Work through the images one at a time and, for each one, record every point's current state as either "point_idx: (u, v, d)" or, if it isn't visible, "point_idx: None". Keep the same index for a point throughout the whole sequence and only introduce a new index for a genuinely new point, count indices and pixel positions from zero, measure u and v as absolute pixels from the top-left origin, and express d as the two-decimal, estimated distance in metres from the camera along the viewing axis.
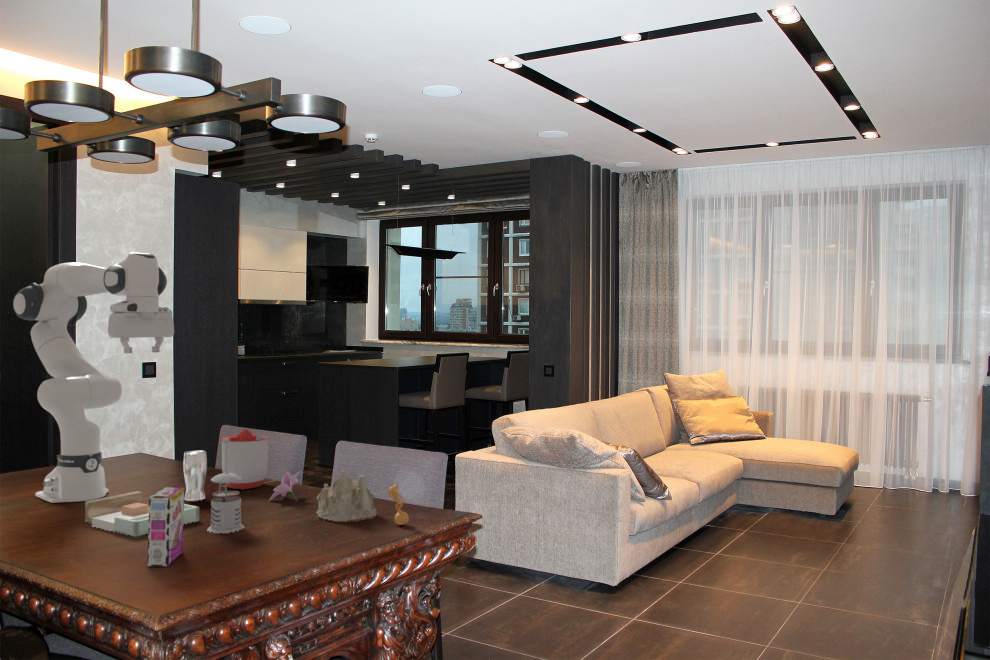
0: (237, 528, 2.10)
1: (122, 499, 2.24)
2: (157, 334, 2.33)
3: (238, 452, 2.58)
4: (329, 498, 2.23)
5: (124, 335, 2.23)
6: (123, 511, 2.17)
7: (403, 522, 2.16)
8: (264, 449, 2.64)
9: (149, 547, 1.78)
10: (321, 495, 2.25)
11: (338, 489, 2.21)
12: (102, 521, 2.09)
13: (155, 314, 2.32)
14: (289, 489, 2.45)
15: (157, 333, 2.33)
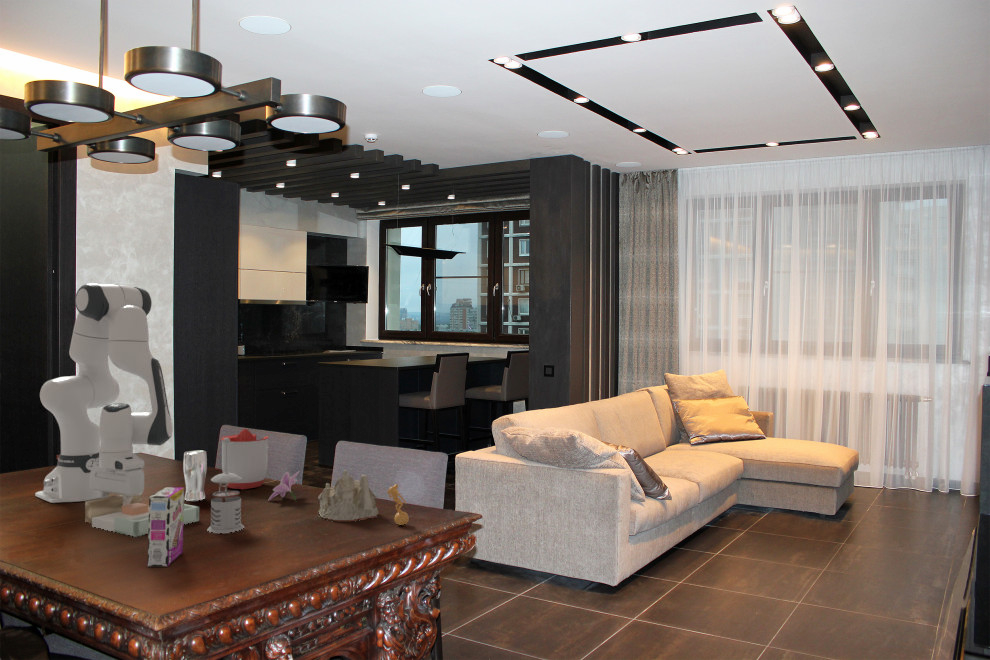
0: (237, 528, 2.10)
1: (122, 499, 2.24)
2: None
3: (238, 452, 2.58)
4: (331, 498, 2.24)
5: None
6: (123, 511, 2.17)
7: (403, 522, 2.16)
8: (264, 449, 2.64)
9: (149, 547, 1.78)
10: (323, 495, 2.26)
11: (340, 489, 2.21)
12: (102, 521, 2.09)
13: None
14: (288, 489, 2.45)
15: None
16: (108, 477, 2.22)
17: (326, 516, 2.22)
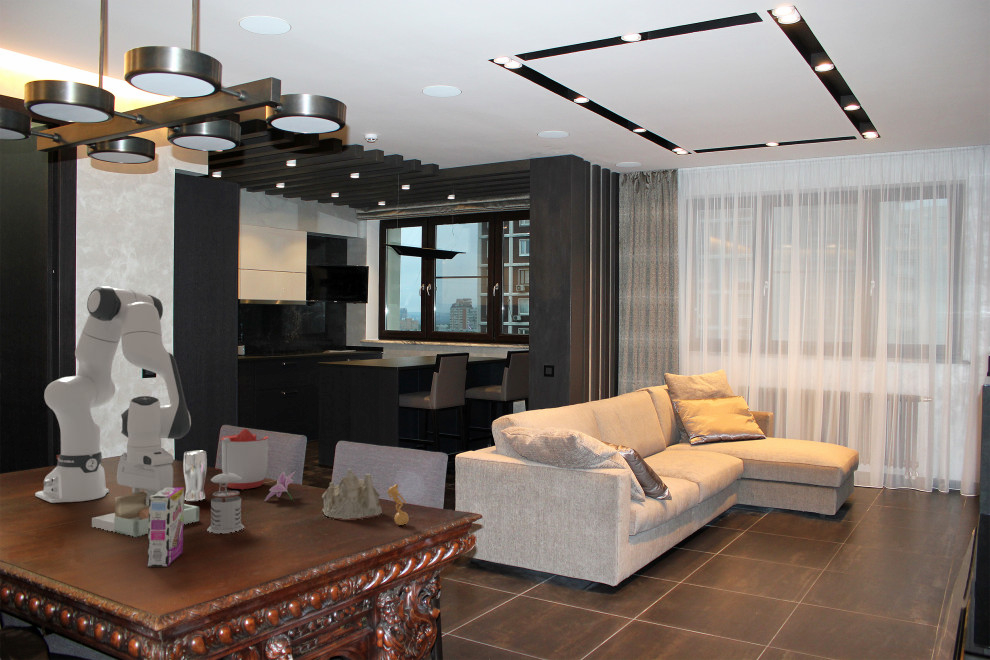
0: (237, 528, 2.10)
1: None
2: None
3: (238, 452, 2.58)
4: (335, 496, 2.25)
5: None
6: (140, 516, 2.13)
7: (403, 522, 2.16)
8: (264, 449, 2.64)
9: (149, 547, 1.78)
10: (327, 493, 2.28)
11: (345, 487, 2.23)
12: (102, 521, 2.09)
13: None
14: (285, 489, 2.45)
15: None
16: (136, 472, 2.15)
17: (331, 515, 2.24)
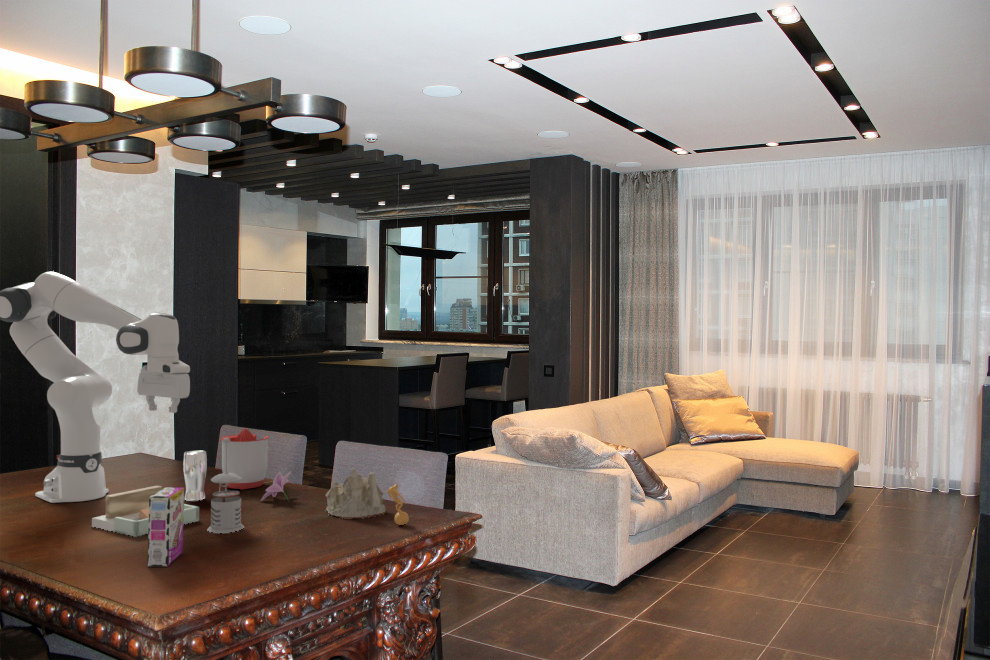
0: (237, 528, 2.10)
1: (143, 493, 2.19)
2: None
3: (238, 452, 2.58)
4: (340, 495, 2.27)
5: None
6: (140, 516, 2.13)
7: (403, 522, 2.16)
8: (264, 449, 2.64)
9: (149, 547, 1.78)
10: (331, 492, 2.29)
11: (349, 486, 2.25)
12: (102, 521, 2.09)
13: None
14: (281, 489, 2.45)
15: None
16: (155, 382, 2.34)
17: (335, 513, 2.26)
